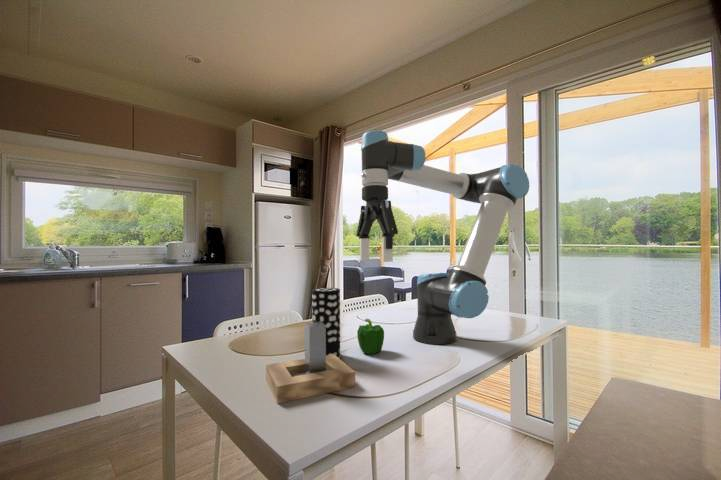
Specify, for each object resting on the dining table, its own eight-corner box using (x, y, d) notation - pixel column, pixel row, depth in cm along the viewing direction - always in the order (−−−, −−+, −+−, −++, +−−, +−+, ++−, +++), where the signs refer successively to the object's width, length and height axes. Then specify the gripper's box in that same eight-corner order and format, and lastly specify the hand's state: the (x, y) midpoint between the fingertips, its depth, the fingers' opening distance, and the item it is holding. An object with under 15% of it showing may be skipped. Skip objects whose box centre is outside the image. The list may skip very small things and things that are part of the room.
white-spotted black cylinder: (335, 362, 92) (335, 291, 92) (308, 360, 94) (307, 291, 94) (343, 353, 100) (342, 288, 101) (317, 351, 102) (317, 287, 102)
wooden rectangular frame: (333, 367, 88) (333, 354, 88) (355, 387, 76) (355, 371, 76) (265, 379, 81) (266, 364, 81) (277, 403, 68) (277, 386, 68)
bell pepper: (387, 355, 98) (386, 322, 98) (360, 357, 96) (359, 323, 97) (380, 347, 106) (380, 316, 106) (355, 348, 105) (355, 317, 105)
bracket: (320, 377, 81) (320, 321, 82) (325, 383, 78) (325, 324, 78) (292, 382, 78) (292, 324, 79) (297, 389, 75) (296, 328, 75)
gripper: (345, 192, 102) (346, 259, 102) (385, 176, 80) (385, 262, 79) (367, 194, 106) (367, 259, 105) (410, 179, 83) (411, 262, 83)
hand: (375, 260), depth 92 cm, fingers open, 13 cm apart
